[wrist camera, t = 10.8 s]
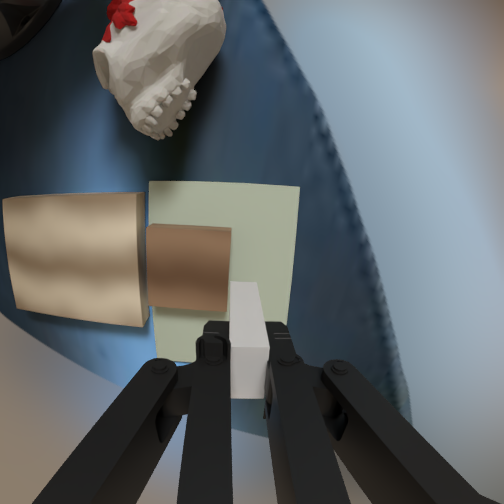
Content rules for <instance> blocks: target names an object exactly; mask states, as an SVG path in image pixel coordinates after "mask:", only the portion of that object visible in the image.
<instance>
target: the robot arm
mask: <svg viewBox="0 0 504 504" xmlns="http://www.w3.org/2000/svg"><path fill="white" fill-rule="evenodd" d="M60 1H61V0H0V60H2V59H4V58H6V57H8V56H10V55H12V54H13V53H15V52H16V51H18V50H19V49H20V48H21V47H23V46H24V45H25V44H26V43H27V42H28V41H29V40H30V39H31V38H32V37H34V35H35V34H36V33H37V32H38V31H39V30H40V29H41V28H42V27H43V26H44V24H45V23H46V22H47V21H48V19H49V18H50V17H51V15H52V14H53V13H54V11H55V10H56V8H57V7H58V5H59V3H60ZM195 344H196V361H194V362H193V363H191V364H188V365H184V366H176V364H175V363H174V362H173V361H172V360H169V359H166V358H154V359H151V360H149V361H147V362H146V363H145V364H144V365H143V366H142V367H141V368H140V370H139V371H138V372H137V373H136V375H135V376H134V377H133V378H132V379H131V381H130V382H129V383H128V384H127V385H126V387H125V388H124V389H123V390H122V392H121V393H120V394H119V395H118V396H117V398H116V399H115V400H114V402H113V403H112V404H111V405H110V406H109V408H108V409H107V410H106V411H105V412H104V414H103V415H102V416H101V417H100V419H99V420H98V421H97V422H96V424H95V425H94V426H93V427H92V429H91V430H90V431H89V432H88V433H87V435H86V436H85V437H84V439H83V440H82V441H81V442H80V443H79V445H78V446H77V447H76V449H75V450H74V451H73V452H72V454H71V455H70V456H69V458H67V460H66V461H65V462H64V463H63V465H62V466H61V467H60V469H59V470H58V471H57V472H56V474H55V475H54V476H53V477H52V479H51V480H50V481H49V483H48V484H47V485H46V486H45V487H44V489H43V490H42V491H41V493H40V494H39V495H38V496H37V498H36V499H35V500H34V502H33V503H32V504H136V503H137V500H138V499H139V497H140V495H141V493H142V492H143V490H144V488H145V486H146V484H147V482H148V481H149V479H150V477H151V475H152V473H153V471H154V469H155V468H156V466H157V464H158V462H159V460H160V458H161V456H162V454H163V452H164V451H165V449H166V447H167V445H168V443H169V441H170V439H171V438H172V435H173V434H174V432H175V430H176V428H177V426H178V424H179V422H180V421H181V418H182V415H185V414H188V417H187V424H186V431H185V439H184V446H183V454H182V462H181V470H180V478H179V487H178V496H177V504H233V488H232V449H231V398H243V399H263V398H264V393H265V396H266V400H265V408H264V416H263V419H266V421H267V428H268V436H269V443H270V450H271V458H272V466H273V473H274V480H275V487H276V494H277V502H278V504H351V503H350V500H349V497H348V494H347V490H346V487H345V484H344V481H343V478H342V475H341V472H340V469H339V466H338V462H337V459H336V456H335V453H334V450H335V452H336V453H337V455H338V456H339V457H340V459H341V460H342V462H343V463H344V465H345V466H346V468H347V469H348V471H349V472H350V473H351V475H352V476H353V478H354V479H355V480H356V482H357V483H358V485H359V486H360V487H361V489H362V490H363V492H364V493H365V494H366V496H367V497H368V499H369V500H370V501H371V503H372V504H500V503H498V502H496V501H493V500H491V499H489V498H486V497H484V496H482V495H480V494H479V493H478V492H477V491H476V490H475V489H474V488H473V487H472V486H471V485H470V484H469V483H468V482H467V481H466V480H465V479H464V478H463V477H462V476H461V475H460V474H459V473H458V472H457V471H456V470H455V469H454V468H453V467H452V466H451V465H450V464H449V463H448V462H447V461H446V460H445V459H444V458H443V457H442V456H441V455H440V454H439V453H438V452H437V451H436V450H435V449H434V448H433V447H432V446H431V445H430V444H429V443H428V442H427V441H426V440H425V439H424V438H423V437H422V436H421V435H420V434H419V433H418V432H417V431H416V430H415V429H414V428H413V426H412V425H411V424H410V423H409V422H408V421H407V420H406V419H405V418H404V417H403V416H402V415H401V414H400V413H399V412H398V411H397V410H396V409H395V408H394V407H393V406H392V405H391V404H390V403H389V402H388V401H387V400H386V399H385V398H384V397H383V396H382V395H381V394H380V393H379V392H378V391H377V390H376V389H375V388H374V387H373V385H372V384H371V383H370V382H369V381H368V380H367V379H366V378H365V377H364V376H363V375H362V374H361V373H360V372H359V371H358V370H357V369H356V368H355V367H354V366H353V365H352V364H350V363H349V362H346V361H344V360H338V359H337V360H330V361H328V362H326V363H325V364H324V366H323V368H320V367H314V366H309V365H307V364H304V361H303V359H302V358H301V357H300V356H299V355H297V354H296V352H295V349H294V346H293V343H292V340H291V337H290V334H289V331H288V328H287V326H286V325H285V324H284V323H282V322H281V321H264V316H263V311H262V306H261V301H260V296H259V291H258V286H257V282H237V281H230V309H229V321H213V320H209V321H208V322H207V323H206V324H205V325H204V328H203V334H202V336H200V337H199V338H197V340H196V342H195ZM333 449H334V450H333Z"/></svg>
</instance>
